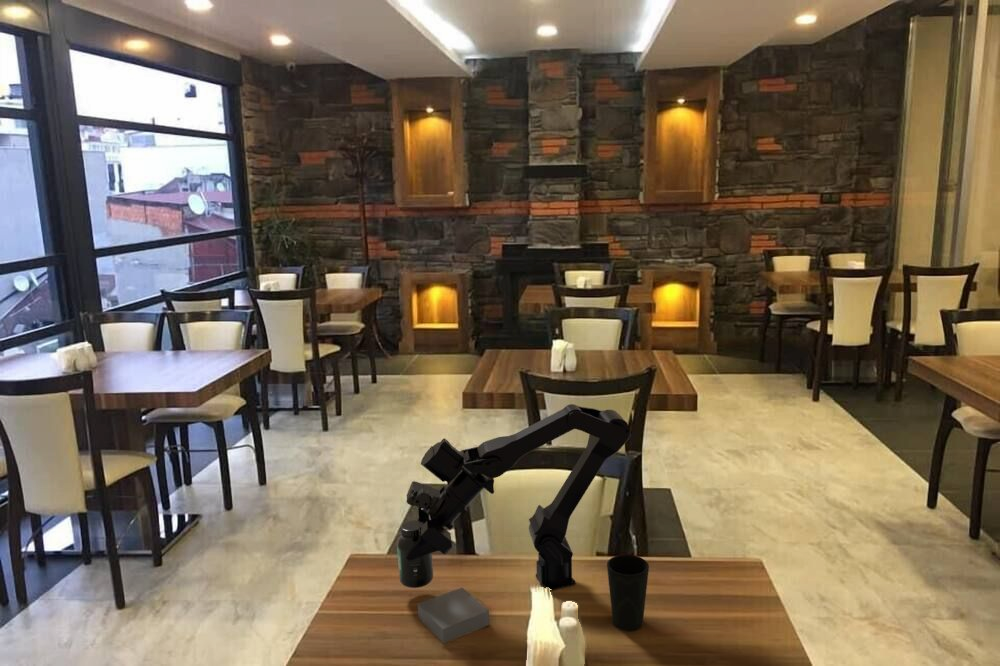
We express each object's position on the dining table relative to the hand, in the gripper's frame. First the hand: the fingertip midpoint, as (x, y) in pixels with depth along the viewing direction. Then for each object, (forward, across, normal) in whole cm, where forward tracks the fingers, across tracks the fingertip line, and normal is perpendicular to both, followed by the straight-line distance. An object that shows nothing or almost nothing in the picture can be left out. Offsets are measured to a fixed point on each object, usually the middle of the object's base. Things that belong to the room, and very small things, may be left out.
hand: (407, 550), depth 150 cm
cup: (-21, +17, +36) cm, 45 cm away
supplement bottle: (+4, 0, +6) cm, 7 cm away
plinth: (+2, +11, +13) cm, 17 cm away
